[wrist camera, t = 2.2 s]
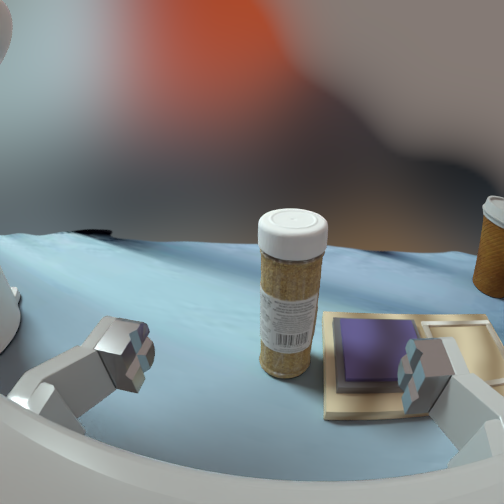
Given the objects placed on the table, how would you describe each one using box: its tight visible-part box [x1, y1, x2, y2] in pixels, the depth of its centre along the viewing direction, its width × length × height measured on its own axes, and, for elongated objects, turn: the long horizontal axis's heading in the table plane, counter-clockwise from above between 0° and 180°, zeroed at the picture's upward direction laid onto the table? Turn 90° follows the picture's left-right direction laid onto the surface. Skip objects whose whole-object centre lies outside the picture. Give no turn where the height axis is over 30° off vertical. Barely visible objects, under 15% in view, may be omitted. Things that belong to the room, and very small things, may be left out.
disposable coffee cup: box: [473, 196, 504, 298], centre depth 32 cm, size 10×10×12 cm
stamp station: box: [322, 311, 504, 420], centre depth 24 cm, size 20×12×2 cm, turn 82°
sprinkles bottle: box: [258, 209, 328, 378], centre depth 23 cm, size 5×5×14 cm
